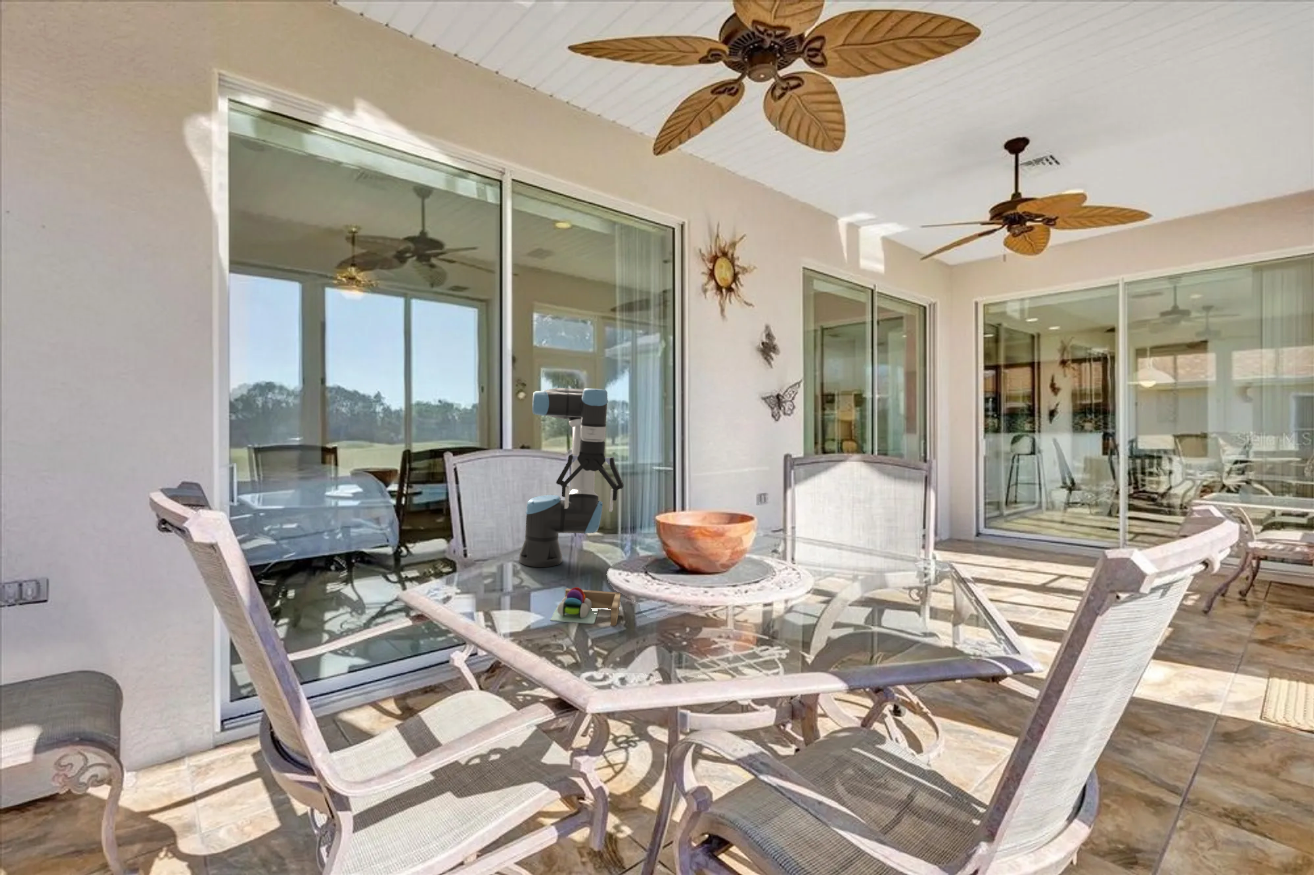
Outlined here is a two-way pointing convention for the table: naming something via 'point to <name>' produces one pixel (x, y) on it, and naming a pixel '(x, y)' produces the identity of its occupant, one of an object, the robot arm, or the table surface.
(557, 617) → the pad
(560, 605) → the rainbow petal toy
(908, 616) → the table surface
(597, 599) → the wooden bracket
